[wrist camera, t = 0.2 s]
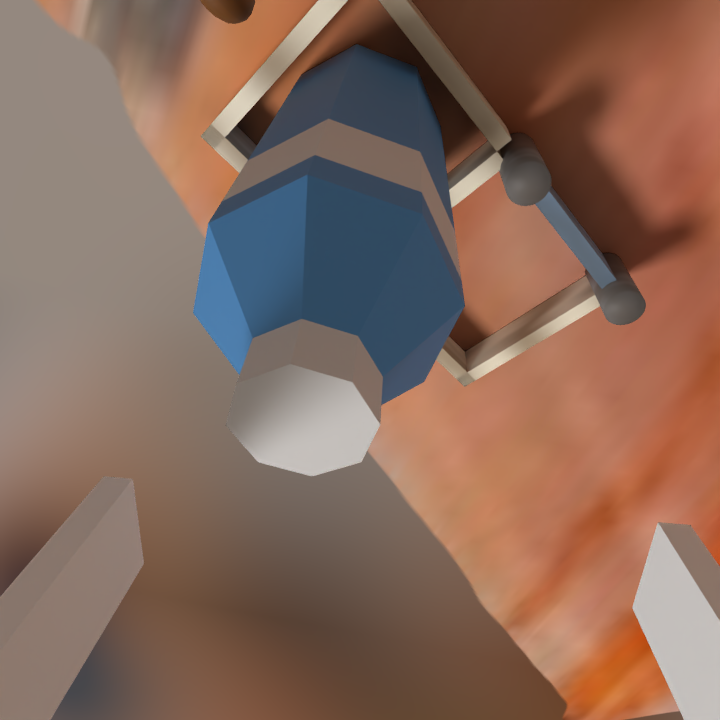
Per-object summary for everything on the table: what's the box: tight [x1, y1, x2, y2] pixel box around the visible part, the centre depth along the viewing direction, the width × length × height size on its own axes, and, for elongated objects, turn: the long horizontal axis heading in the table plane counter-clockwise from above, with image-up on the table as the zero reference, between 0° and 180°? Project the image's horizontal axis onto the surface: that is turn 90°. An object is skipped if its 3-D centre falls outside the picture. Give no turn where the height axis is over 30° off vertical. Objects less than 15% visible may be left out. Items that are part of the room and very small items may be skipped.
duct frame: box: [201, 0, 646, 387], centre depth 35 cm, size 14×26×5 cm, turn 43°
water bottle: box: [193, 44, 465, 476], centre depth 25 cm, size 9×9×25 cm
